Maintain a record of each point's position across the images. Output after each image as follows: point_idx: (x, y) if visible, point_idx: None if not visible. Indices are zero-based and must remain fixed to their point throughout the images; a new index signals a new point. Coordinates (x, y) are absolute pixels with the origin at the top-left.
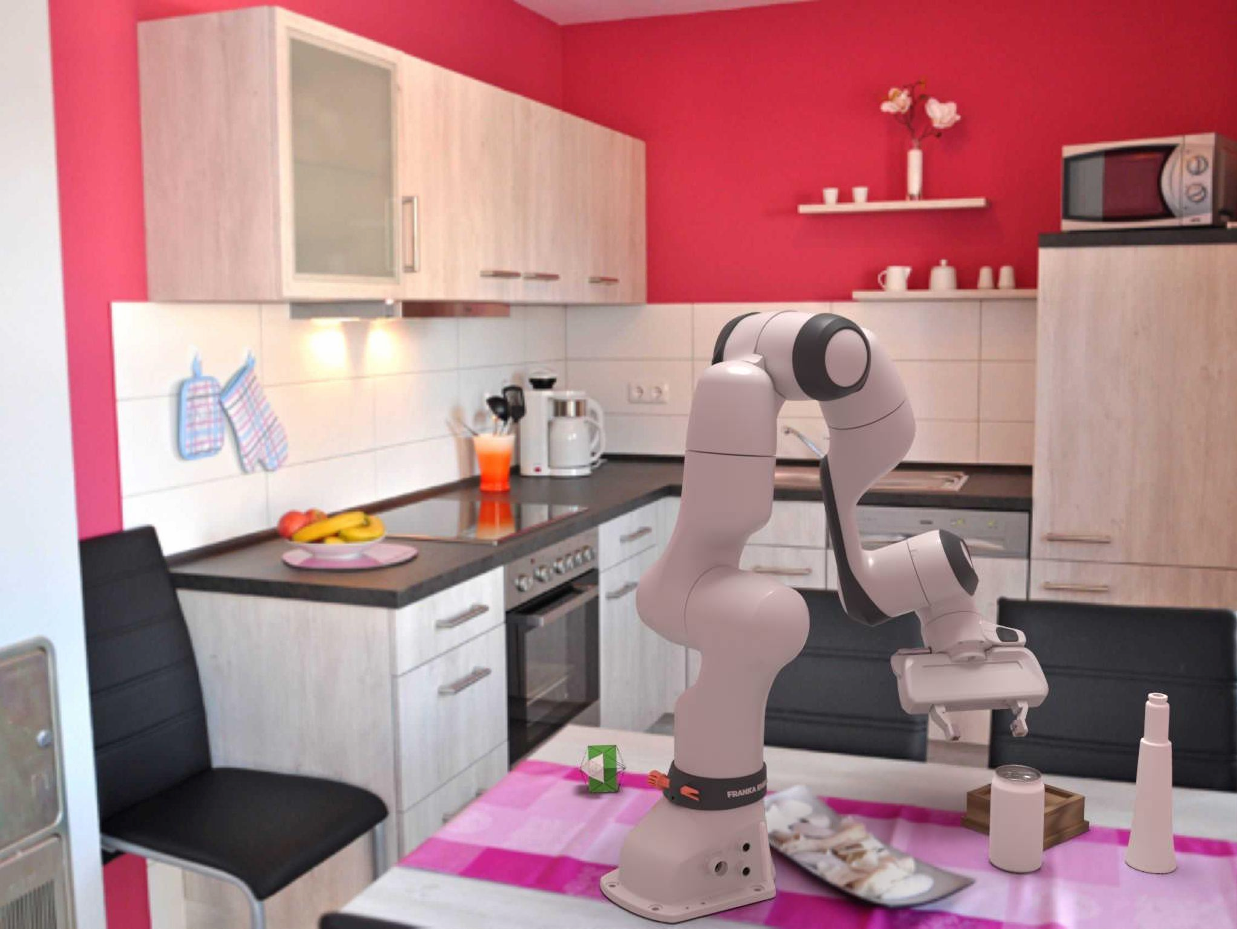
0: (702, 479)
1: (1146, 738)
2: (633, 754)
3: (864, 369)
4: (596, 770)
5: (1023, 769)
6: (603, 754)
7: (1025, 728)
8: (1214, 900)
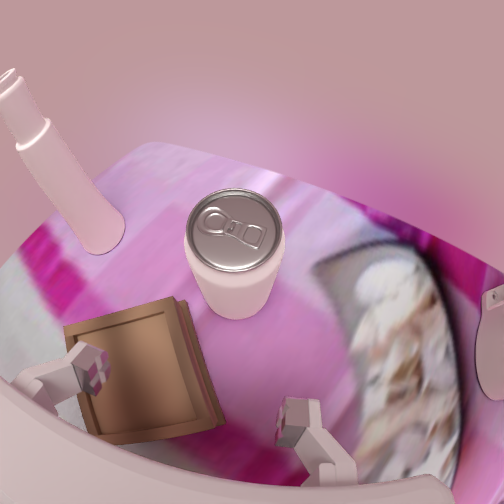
0: None
1: (40, 126)
2: None
3: None
4: None
5: (200, 251)
6: None
7: (82, 344)
8: (126, 162)
